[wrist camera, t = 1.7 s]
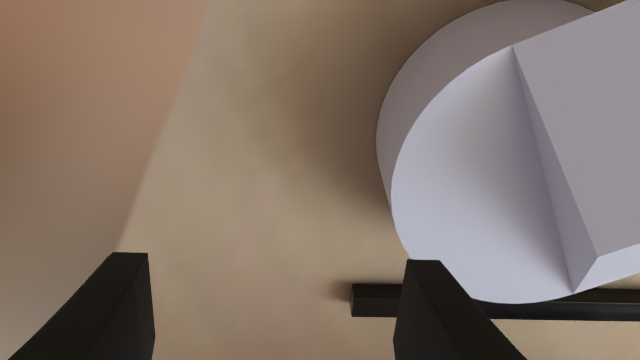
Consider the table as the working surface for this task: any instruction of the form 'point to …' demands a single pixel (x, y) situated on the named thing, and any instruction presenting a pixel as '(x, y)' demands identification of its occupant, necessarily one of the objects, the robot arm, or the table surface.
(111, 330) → the robot arm
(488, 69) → the wedge on round base
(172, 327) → the table surface
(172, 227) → the table surface
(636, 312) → the frame
